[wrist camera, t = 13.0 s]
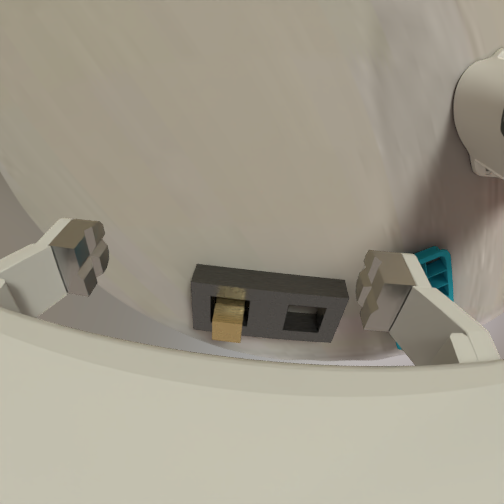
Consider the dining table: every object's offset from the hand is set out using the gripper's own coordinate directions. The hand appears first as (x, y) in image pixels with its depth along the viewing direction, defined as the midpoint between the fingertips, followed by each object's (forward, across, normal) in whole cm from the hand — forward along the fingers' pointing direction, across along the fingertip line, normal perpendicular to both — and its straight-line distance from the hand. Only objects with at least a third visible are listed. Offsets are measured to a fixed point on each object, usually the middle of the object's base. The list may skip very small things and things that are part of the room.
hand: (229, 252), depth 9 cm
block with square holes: (+28, -3, +29) cm, 40 cm away
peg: (+28, +2, +29) cm, 40 cm away
